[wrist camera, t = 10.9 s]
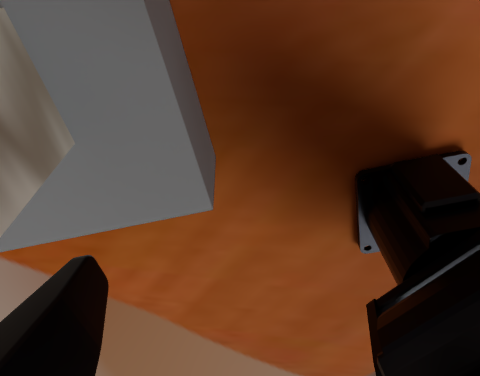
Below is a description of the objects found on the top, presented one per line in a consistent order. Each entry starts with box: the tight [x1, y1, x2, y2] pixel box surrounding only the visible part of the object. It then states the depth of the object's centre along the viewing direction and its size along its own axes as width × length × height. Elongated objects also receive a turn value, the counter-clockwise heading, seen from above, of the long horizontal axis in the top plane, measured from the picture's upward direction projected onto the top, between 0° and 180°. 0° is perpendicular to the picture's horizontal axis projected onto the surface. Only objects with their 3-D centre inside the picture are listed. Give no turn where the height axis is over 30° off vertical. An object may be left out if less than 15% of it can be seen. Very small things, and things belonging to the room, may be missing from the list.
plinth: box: [0, 0, 216, 252], centre depth 15 cm, size 14×14×5 cm
